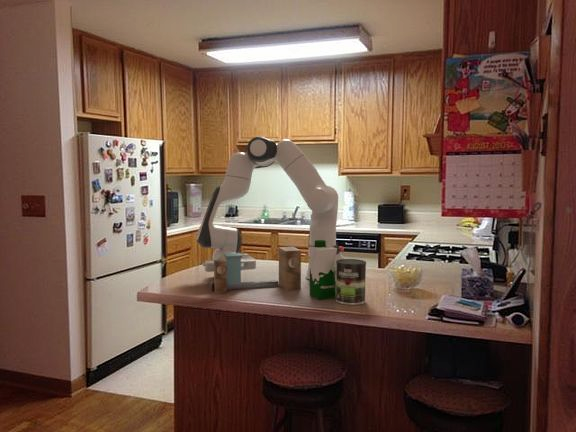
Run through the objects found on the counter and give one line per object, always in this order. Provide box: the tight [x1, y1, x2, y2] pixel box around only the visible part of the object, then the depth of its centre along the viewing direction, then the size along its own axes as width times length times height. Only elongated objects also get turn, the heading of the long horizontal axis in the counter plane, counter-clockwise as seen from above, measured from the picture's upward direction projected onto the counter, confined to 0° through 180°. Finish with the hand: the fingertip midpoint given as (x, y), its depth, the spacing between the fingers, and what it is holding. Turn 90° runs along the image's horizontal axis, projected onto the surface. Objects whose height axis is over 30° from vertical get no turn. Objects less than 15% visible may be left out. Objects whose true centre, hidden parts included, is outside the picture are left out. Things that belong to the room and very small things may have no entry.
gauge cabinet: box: [278, 246, 302, 291], centre depth 192 cm, size 6×11×15 cm, turn 17°
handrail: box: [210, 279, 279, 292], centre depth 191 cm, size 26×4×3 cm, turn 107°
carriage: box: [224, 252, 242, 285], centre depth 189 cm, size 6×6×11 cm
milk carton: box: [308, 240, 337, 300], centre depth 177 cm, size 9×9×20 cm
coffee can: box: [335, 258, 367, 306], centre depth 171 cm, size 10×10×14 cm
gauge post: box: [213, 260, 228, 295], centre depth 182 cm, size 4×4×12 cm
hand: (233, 268), depth 188 cm, fingers closed on carriage, 5 cm apart
